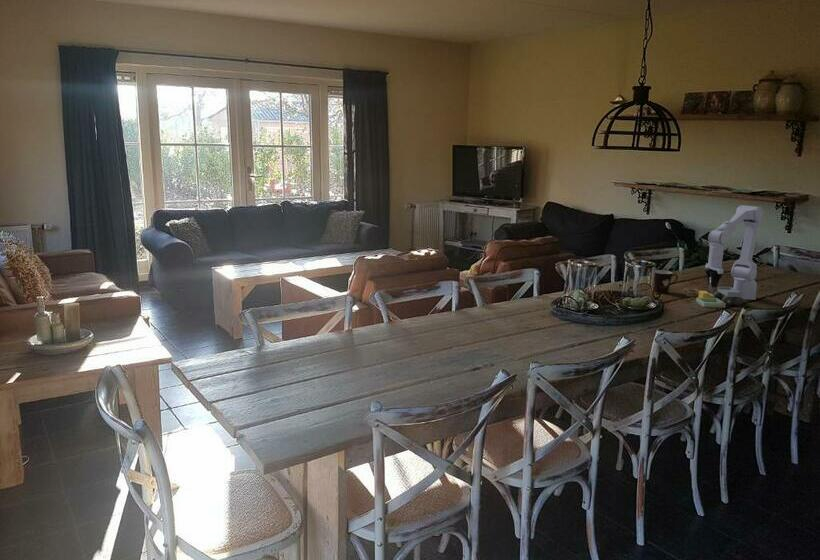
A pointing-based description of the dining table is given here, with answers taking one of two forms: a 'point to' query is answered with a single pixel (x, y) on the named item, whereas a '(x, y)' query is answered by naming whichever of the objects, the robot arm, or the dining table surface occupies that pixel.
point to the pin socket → (691, 292)
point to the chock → (705, 294)
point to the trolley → (729, 295)
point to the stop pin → (710, 289)
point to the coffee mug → (663, 281)
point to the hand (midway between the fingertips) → (712, 286)
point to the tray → (711, 302)
